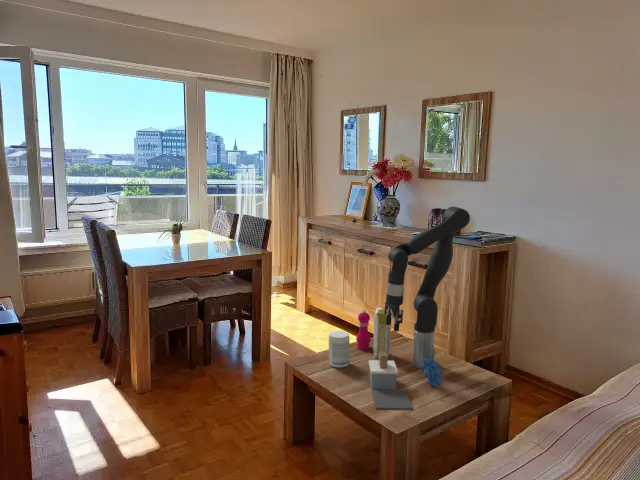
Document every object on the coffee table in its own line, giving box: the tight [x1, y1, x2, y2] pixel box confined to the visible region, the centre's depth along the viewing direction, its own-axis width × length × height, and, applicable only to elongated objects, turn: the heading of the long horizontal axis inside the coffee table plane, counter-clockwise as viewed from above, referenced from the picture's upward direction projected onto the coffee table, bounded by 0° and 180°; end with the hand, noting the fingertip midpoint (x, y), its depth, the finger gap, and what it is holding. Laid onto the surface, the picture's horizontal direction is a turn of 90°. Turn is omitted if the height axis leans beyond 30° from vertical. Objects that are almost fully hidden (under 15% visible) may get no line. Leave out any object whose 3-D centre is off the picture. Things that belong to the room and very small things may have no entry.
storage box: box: [369, 370, 397, 390], centre depth 199 cm, size 10×10×7 cm
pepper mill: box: [355, 309, 372, 351], centre depth 236 cm, size 7×7×20 cm
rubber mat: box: [371, 389, 413, 411], centre depth 186 cm, size 14×14×1 cm
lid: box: [368, 351, 399, 375], centre depth 198 cm, size 11×11×6 cm
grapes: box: [421, 357, 444, 388], centre depth 197 cm, size 12×7×12 cm, turn 31°
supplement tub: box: [328, 330, 350, 369], centre depth 217 cm, size 10×10×15 cm
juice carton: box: [372, 307, 392, 360], centre depth 226 cm, size 9×8×24 cm
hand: (392, 327), depth 211 cm, fingers open, 8 cm apart
